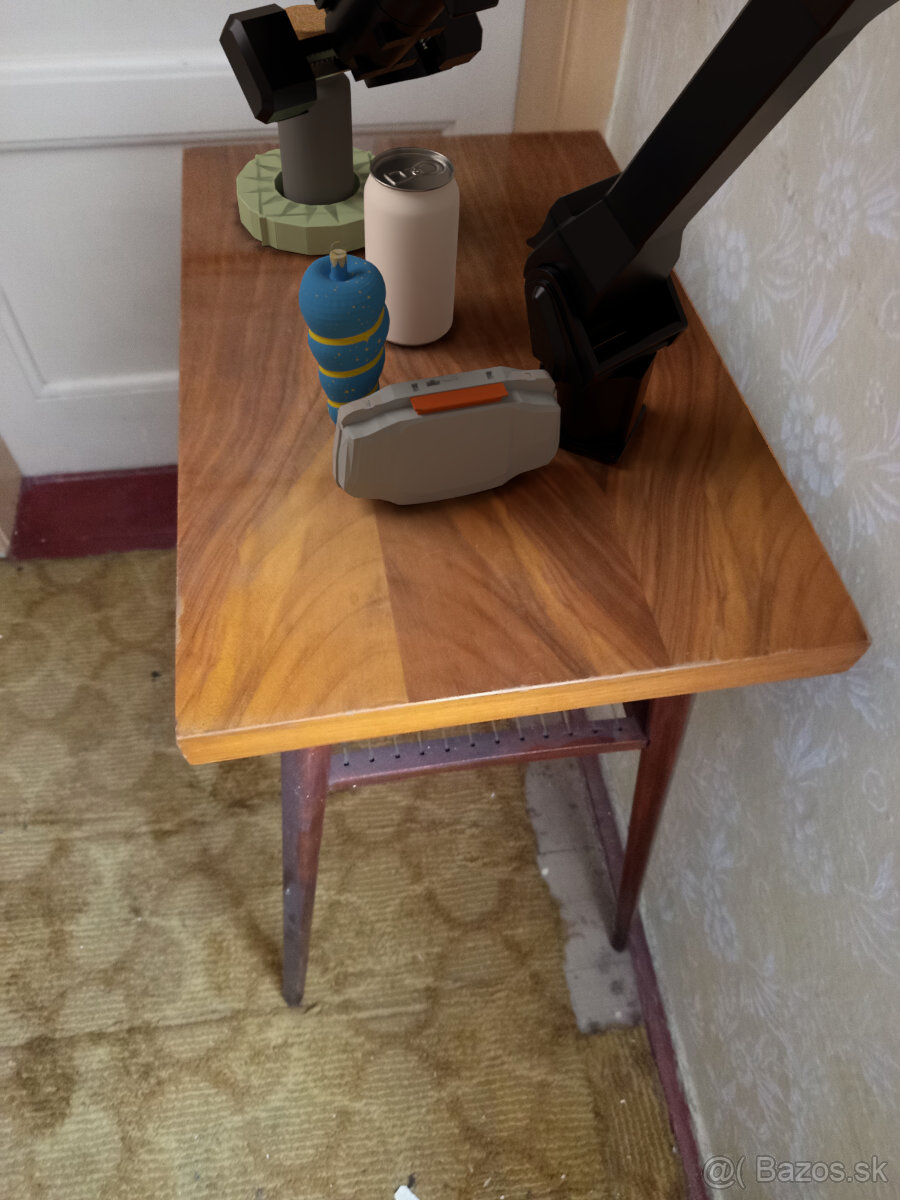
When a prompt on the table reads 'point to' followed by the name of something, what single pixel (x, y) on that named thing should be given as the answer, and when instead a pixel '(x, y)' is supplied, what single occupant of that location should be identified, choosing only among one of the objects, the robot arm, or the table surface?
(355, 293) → the ornament
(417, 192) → the can
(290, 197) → the bottle
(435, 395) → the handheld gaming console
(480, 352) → the table surface
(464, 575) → the table surface
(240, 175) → the holder
